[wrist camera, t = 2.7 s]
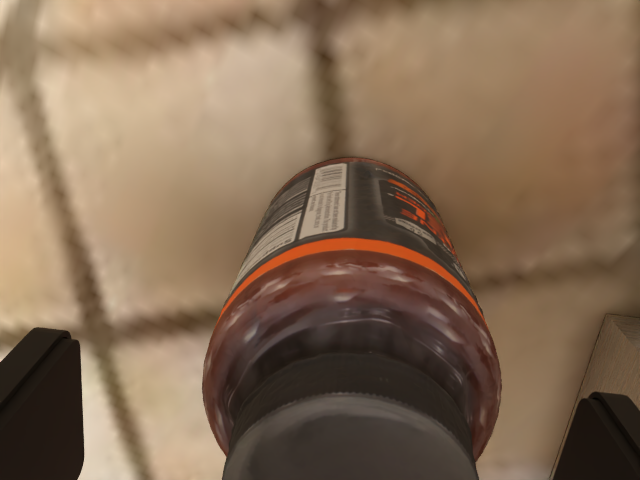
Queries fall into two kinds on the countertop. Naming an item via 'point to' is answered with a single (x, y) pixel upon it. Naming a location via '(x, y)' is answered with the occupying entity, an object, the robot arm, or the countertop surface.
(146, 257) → the countertop surface
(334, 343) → the supplement bottle
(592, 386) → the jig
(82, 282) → the countertop surface
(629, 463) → the robot arm
